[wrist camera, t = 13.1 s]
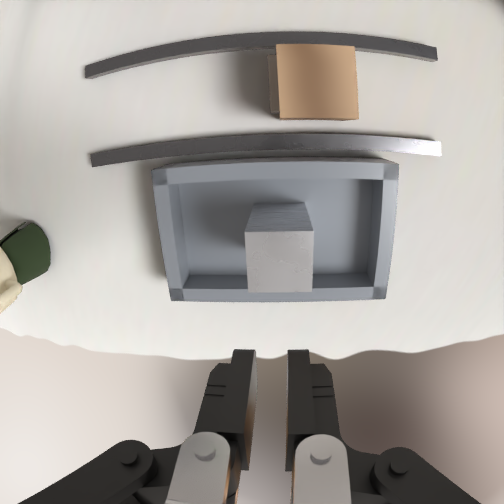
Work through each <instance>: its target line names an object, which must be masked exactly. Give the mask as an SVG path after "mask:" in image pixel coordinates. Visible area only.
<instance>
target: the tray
mask: <svg viewBox="0 0 504 504" xmlns="http://www.w3.org/2000/svg"><path fill="white" fill-rule="evenodd" d="M151 173H152V182H153V190H154V198H155V206H156V213H157V220H158V227H159V234H160V240H161V247H162V253H163V259H164V265H165V271H166V276H167V282H168V287H169V292H170V297H171V301H198V302H314V301H349V300H373V299H385V298H386V292H387V286H388V279H389V272H390V265H391V258H392V250H393V241H394V231H395V221H396V209H397V195H398V175H399V164H397V163H394V162H392V161H389V160H386V159H377V158H351V157H271V158H244V159H226V160H210V161H197V162H185V163H174V164H166V165H164V166H161V167H158V168H156V169H153V170H151ZM258 203H305V205H306V208H307V211H308V214H309V217H310V221H311V224H312V227H313V230H314V246H313V278H312V292H269V293H248V280H247V264H246V248H245V229H246V226H247V223H248V220H249V217H250V214H251V211H252V208H253V205H254V204H258Z"/></svg>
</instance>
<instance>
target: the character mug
mask: <svg viewBox="0 0 504 504" xmlns="http://www.w3.org/2000/svg"><path fill="white" fill-rule="evenodd" d="M25 223H26V222H24V223H23V224H25ZM23 224H21V225H20V226H22V225H23ZM20 226H18V227H17V228H15V229H14V230H13V231H11V232H10V233H9V234H8V235H6V236H5V237H4V238H3V239H2V240H0V314H1V313H2V312H3V311H4V310H5V309H6V308H7V307H9V306H10V305H11V304H12V303H13V302H14V301H15V300H16V298H17V295H19V294H20V293H21V291H22V286H21V285H23V284H25V283H27V282H29V281H30V280H32V279H34V278H36V277H38V276H40V275H41V274H43V273H45V272H47V271H48V268H49V266H50V248H49V242H48V239H47V237H46V236H45V234H44V233H43V231H42V229H41V228H39V227H38V226H37V225H35V224H34V223H31V224H29V225H27V226H26V227H24V228H22V229H20V230H18V228H19V227H20Z"/></svg>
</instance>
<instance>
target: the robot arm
mask: <svg viewBox="0 0 504 504" xmlns="http://www.w3.org/2000/svg"><path fill="white" fill-rule="evenodd" d="M287 360H288V362H287V363H288V364H287V416H286V464H285V471H292V487H291V499H290V504H481V503H479V502H478V501H477V500H475V499H474V498H473V497H471V496H470V495H469V494H467V493H466V492H465V491H463V490H462V489H461V488H459V487H458V486H457V485H456V484H454V483H453V482H452V481H450V480H449V479H448V478H447V477H445V476H444V475H443V474H441V473H440V472H439V471H438V470H436V469H435V468H434V467H433V466H431V465H430V464H429V463H428V462H426V461H425V460H424V459H423V458H421V457H420V456H419V455H418V454H417V453H415V452H414V451H412V450H410V449H407V448H403V447H396V448H391V449H389V450H386V451H385V452H383V453H382V454H381V455H377V454H370V453H363V452H359V451H356V450H354V449H352V448H350V447H349V446H348V445H346V443H345V442H344V441H343V440H342V438H341V436H340V431H339V423H338V416H337V409H336V401H335V394H334V388H333V381H332V375H331V373H330V371H329V370H328V369H327V367H326V366H325V365H324V364H310V358H309V350H308V349H307V350H288V359H287ZM256 400H257V366H256V351H255V350H242V349H234V351H233V355H232V360H231V364H228V363H219V364H218V365H217V366H216V367H215V368H214V369H213V370H212V371H211V372H210V375H209V379H208V383H207V387H206V390H205V393H204V397H203V401H202V404H201V408H200V411H199V415H198V419H197V422H196V426H195V430H194V432H193V434H192V435H191V436H189V437H188V438H187V439H186V440H185V441H184V442H183V443H182V444H181V445H178V446H176V447H171V448H164V449H154V450H150V448H149V447H148V446H147V445H145V444H144V443H142V442H140V441H136V440H125V441H122V442H119V443H118V444H116V445H114V446H113V447H111V448H110V449H108V450H107V451H105V452H104V453H102V454H101V455H99V456H98V457H96V458H94V459H93V460H91V461H90V462H89V463H87V464H85V465H83V466H82V467H80V468H79V469H77V470H76V471H74V472H72V473H71V474H69V475H67V476H66V477H64V478H62V479H61V480H59V481H57V482H56V483H54V484H52V485H51V486H49V487H47V488H45V489H44V490H42V491H40V492H38V493H37V494H35V495H33V496H31V497H29V498H28V499H26V500H24V501H22V502H20V503H18V504H237V498H238V486H239V481H240V473H241V470H249V463H250V454H251V445H252V437H253V427H254V419H255V408H256Z"/></svg>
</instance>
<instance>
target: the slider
mask: <svg viewBox="0 0 504 504" xmlns="http://www.w3.org/2000/svg"><path fill="white" fill-rule="evenodd" d="M267 57H268V74H269V92H270V111H271V113H272V114H277V113H280V120H339V121H345V120H356V119H359V111H358V88H357V72H356V59H355V47H354V46H342V45H324V44H276V55H267Z"/></svg>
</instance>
